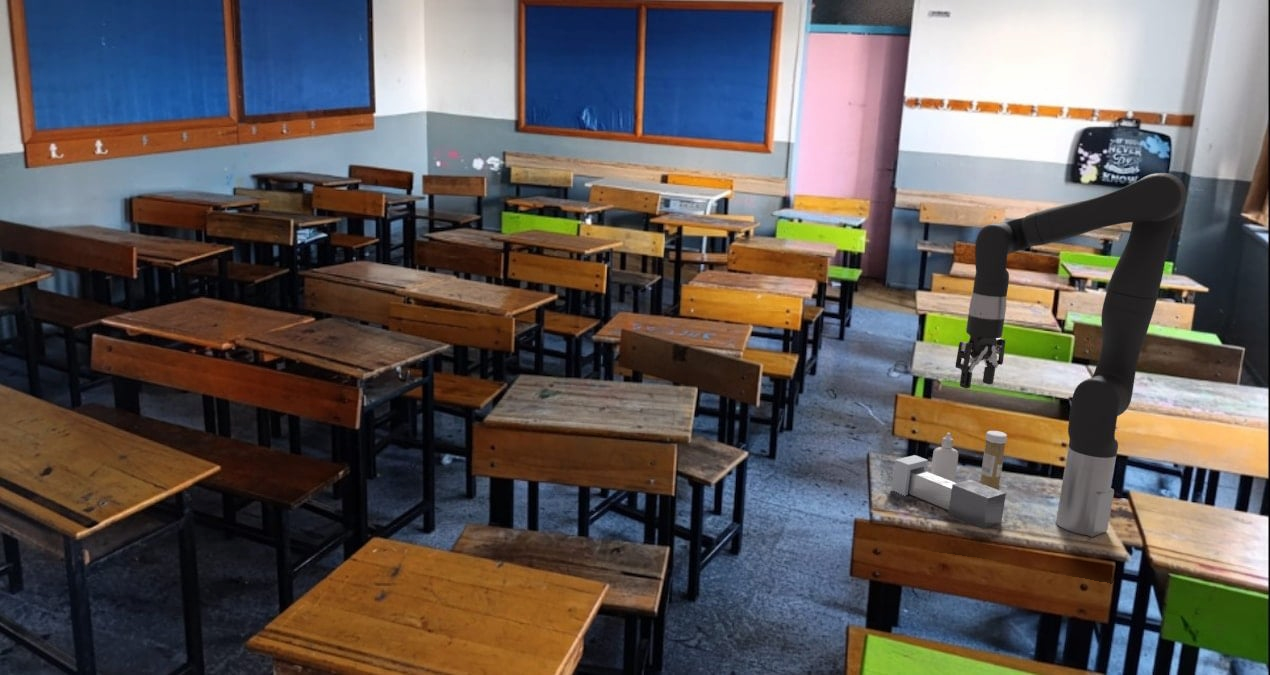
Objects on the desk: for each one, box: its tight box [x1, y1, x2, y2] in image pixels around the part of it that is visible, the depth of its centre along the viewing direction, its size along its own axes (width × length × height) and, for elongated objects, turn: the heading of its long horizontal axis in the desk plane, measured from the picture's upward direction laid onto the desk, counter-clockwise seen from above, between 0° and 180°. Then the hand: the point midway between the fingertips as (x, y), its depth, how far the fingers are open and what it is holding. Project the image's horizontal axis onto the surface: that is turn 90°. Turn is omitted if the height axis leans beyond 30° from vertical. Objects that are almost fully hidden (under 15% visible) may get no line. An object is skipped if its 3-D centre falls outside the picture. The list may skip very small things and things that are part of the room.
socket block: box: [891, 454, 929, 497], centre depth 218 cm, size 4×7×8 cm, turn 126°
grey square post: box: [907, 468, 957, 511], centre depth 212 cm, size 16×4×5 cm, turn 36°
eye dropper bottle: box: [930, 432, 959, 483], centre depth 225 cm, size 4×6×12 cm
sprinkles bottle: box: [979, 430, 1008, 490], centre depth 223 cm, size 5×5×14 cm
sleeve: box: [947, 479, 1007, 530], centre depth 204 cm, size 9×6×7 cm
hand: (976, 385), depth 213 cm, fingers open, 8 cm apart
